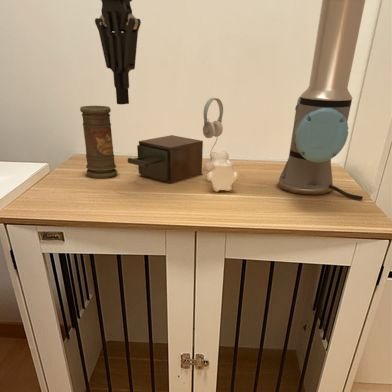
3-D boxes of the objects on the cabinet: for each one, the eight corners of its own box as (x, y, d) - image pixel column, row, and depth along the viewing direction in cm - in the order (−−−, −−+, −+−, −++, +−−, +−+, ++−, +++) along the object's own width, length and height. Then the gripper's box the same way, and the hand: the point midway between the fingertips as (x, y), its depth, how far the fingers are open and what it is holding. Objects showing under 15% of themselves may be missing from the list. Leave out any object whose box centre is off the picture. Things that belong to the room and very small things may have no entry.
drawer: (151, 185, 114) (150, 154, 110) (123, 177, 120) (121, 148, 115) (195, 172, 127) (196, 144, 122) (168, 166, 132) (168, 139, 128)
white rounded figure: (237, 193, 113) (240, 162, 108) (206, 193, 113) (207, 161, 108) (232, 179, 125) (234, 150, 120) (203, 178, 125) (204, 149, 120)
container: (80, 175, 123) (71, 107, 113) (99, 169, 130) (92, 104, 119) (104, 180, 120) (97, 109, 109) (123, 173, 126) (117, 106, 116)
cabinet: (170, 183, 119) (170, 147, 114) (140, 175, 125) (138, 141, 120) (201, 174, 128) (203, 140, 123) (172, 167, 135) (171, 135, 129)
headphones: (214, 165, 138) (217, 96, 126) (223, 167, 136) (227, 97, 124) (198, 169, 133) (200, 98, 121) (207, 172, 131) (210, 99, 119)
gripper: (80, -24, 89) (94, 102, 103) (121, -27, 83) (130, 107, 97) (107, -20, 94) (116, 100, 108) (147, -23, 87) (152, 105, 101)
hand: (123, 103), depth 102 cm, fingers closed
